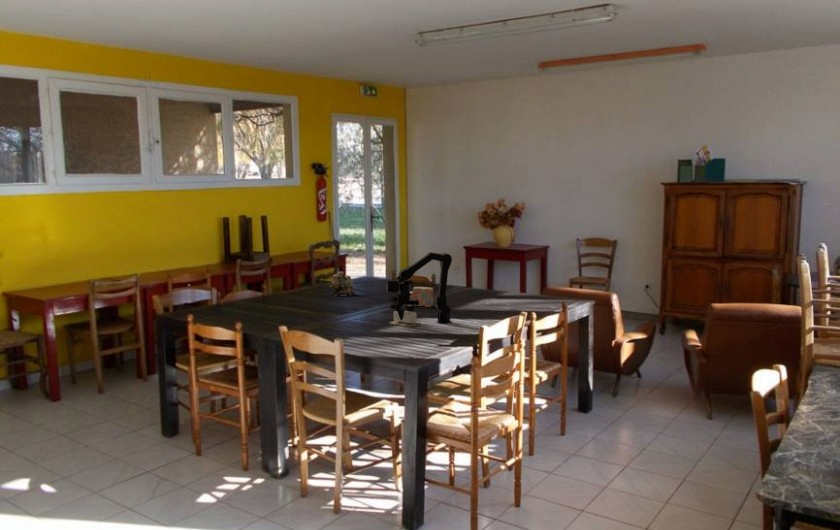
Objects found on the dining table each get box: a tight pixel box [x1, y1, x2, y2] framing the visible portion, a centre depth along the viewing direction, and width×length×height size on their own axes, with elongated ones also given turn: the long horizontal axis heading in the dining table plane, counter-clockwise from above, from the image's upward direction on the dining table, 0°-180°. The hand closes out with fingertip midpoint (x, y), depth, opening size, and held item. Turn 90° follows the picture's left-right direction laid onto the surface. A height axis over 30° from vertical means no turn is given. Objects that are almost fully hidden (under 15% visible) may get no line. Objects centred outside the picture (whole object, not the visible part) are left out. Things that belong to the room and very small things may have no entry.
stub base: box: [388, 320, 422, 328], centre depth 402 cm, size 15×10×4 cm, turn 50°
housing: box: [392, 310, 417, 323], centre depth 401 cm, size 12×6×5 cm, turn 50°
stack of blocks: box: [398, 286, 434, 308], centre depth 457 cm, size 21×6×12 cm, turn 74°
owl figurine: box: [329, 271, 356, 296], centre depth 500 cm, size 18×12×17 cm, turn 105°
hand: (405, 319), depth 401 cm, fingers closed on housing, 6 cm apart
